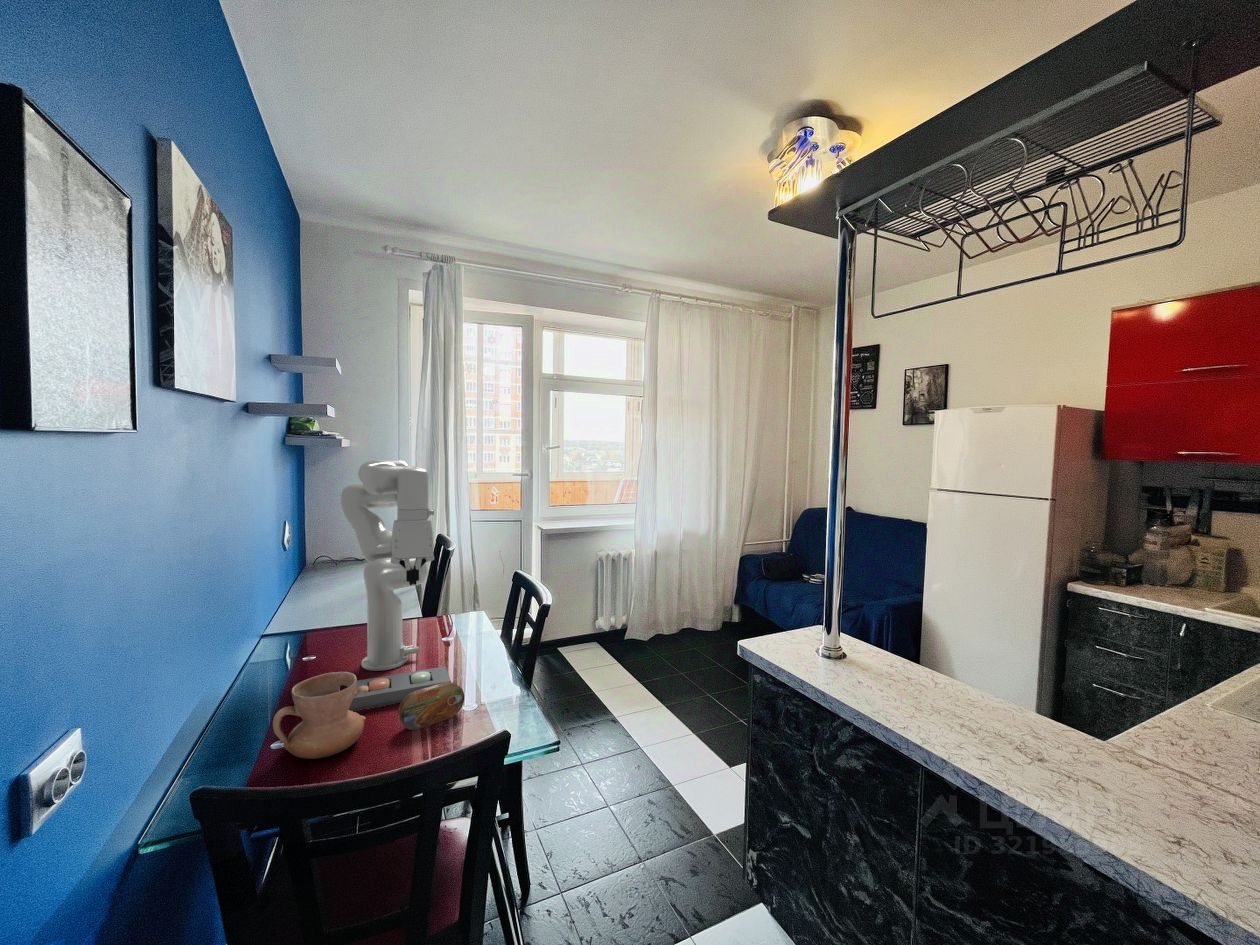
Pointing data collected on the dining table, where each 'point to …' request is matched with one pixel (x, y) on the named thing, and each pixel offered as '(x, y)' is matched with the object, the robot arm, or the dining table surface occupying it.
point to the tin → (431, 705)
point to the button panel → (396, 688)
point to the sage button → (420, 677)
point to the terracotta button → (379, 684)
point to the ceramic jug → (322, 716)
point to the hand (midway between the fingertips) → (412, 583)
